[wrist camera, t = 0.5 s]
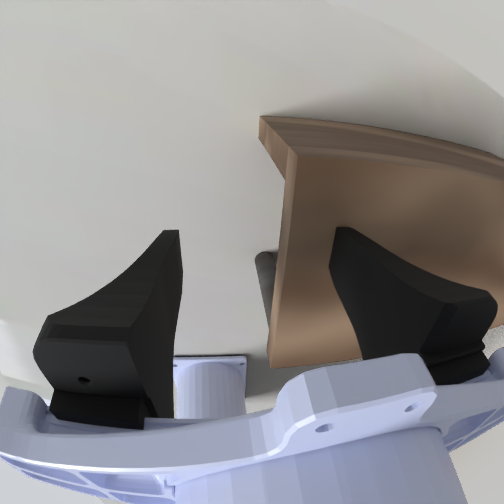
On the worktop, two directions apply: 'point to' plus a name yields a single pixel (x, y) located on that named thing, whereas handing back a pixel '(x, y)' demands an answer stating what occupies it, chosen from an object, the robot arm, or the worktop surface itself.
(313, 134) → the walnut shelf
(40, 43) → the worktop surface
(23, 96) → the worktop surface
